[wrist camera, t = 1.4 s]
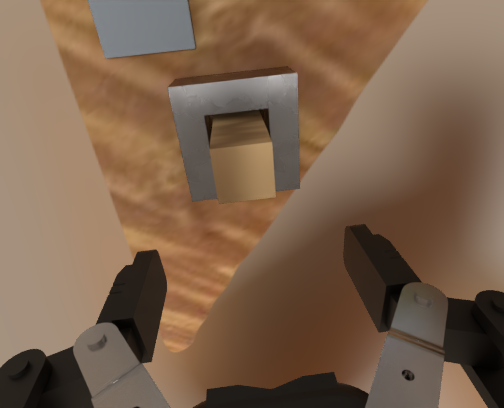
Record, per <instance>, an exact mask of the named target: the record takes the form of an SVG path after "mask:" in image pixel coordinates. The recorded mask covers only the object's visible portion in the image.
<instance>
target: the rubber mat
mask: <svg viewBox="0 0 504 408" xmlns="http://www.w3.org/2000/svg"><path fill="white" fill-rule="evenodd" d="M88 3H89V6H90V9H91V13H92V16H93V19H94V22H95V26H96V29H97V32H98V36H99V39H100V42H101V46H102V49H103V52H104V56H105V59H106V58H114V57H123V56H132V55H141V54H150V53H159V52H168V51H177V50H186V49H195V48H196V45H195V39H194V33H193V27H192V21H191V15H190V9H189V3H188V0H88Z"/></svg>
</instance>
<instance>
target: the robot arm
mask: <svg viewBox="0 0 504 408" xmlns="http://www.w3.org/2000/svg"><path fill="white" fill-rule="evenodd" d="M343 257H344V264H345V267H346V270H347V272H348V274H349V276H350V277H351V279H352V281H353V283H354V285H355V287H356V289H357V291H358V293H359V295H360V297H361V299H362V301H363V302H364V305H365V307H366V309H367V311H368V313H369V315H370V316H371V318H372V320H373V322H374V324H375V326H376V328H377V330H378V332H386V331H388V334H387V337H386V340H385V344H384V347H383V350H382V353H381V357H380V360H379V363H378V367H377V370H376V373H375V377H374V380H373V383H372V386H371V390H370V393H369V394H368V393H366V392H364V391H362V390H360V389H359V388H356V387H354V386H351V385H347V384H343V383H338V382H337V380H336V377H335V374H334V372H330V373H323V374H316V375H308V376H302V377H300V378H298V379H295V380H293V381H291V382H288V383H286V384H283V385H281V386H279V387H276V388H274V389H264V388H257V387H250V386H242V385H235V386H227V387H220V388H214V389H207V398H206V401H204V402H201V403H200V404H198V405H196V406H195V407H193V408H438V405H439V397H440V389H441V380H442V372H443V363H444V361H446V362H452V363H458V364H460V365H461V366H462V367H463V369H464V371H465V372H466V374H467V375H468V377H469V379H470V380H471V382H472V383H473V385H474V386H475V388H476V390H477V391H478V393H479V394H480V396H481V397H482V399H483V401H484V402H485V404H486V405H487V407H488V408H504V293H503V292H499V291H494V290H486V291H482V292H480V293H478V294H477V295H476V298H475V301H470V300H462V299H454V298H448V297H446V296H445V294H444V293H442V291H440V290H439V289H437V288H436V287H434V286H432V285H429V284H426V283H422V282H421V281H420V279H419V278H418V277H417V275H416V274H415V273H414V272H413V270H412V269H411V268H410V266H409V265H408V264H407V263H406V261H405V260H404V259H403V258H402V257H401V255H400V254H399V252H398V251H396V249H395V247H394V246H393V245H392V244H391V242H390V241H389V240H387V239H386V238H384V237H382V236H381V235H379V234H376V235H373V234H372V233H371V232H370V230H369V229H368V228H367V226H366V225H365V224H361V225H353V226H346V228H345V238H344V252H343ZM166 292H167V280H166V276H165V272H164V269H163V266H162V263H161V259H160V256H159V253H158V251H157V250H149V251H141V252H137V254H136V257H135V259H134V262H133V264H132V265H126V266H125V267H124V268H123V269H122V270H121V271H120V272H119V273H118V275H117V276H116V279H115V281H114V283H113V287H112V288H111V290H110V294H109V295H108V297H107V300H106V302H105V304H104V306H103V309H102V311H101V313H100V316H99V318H98V320H97V323H96V325H95V326H92V327H90V328H89V329H87V330H86V331H84V332H83V333H82V334H81V335H80V336H79V337H78V339H77V340H76V342H75V344H74V346H72V347H70V348H68V349H65V350H63V351H60V352H58V353H55V354H53V355H50V356H47V357H46V355H45V354H44V352H43V351H41V350H39V349H30V350H27V351H24V352H21V353H19V354H17V355H15V356H14V357H12V358H11V359H9V360H8V361H7V362H6V363H5V364H4V365H3V366H2V367H1V368H0V408H171V407H170V406H169V404H168V403H167V401H166V400H165V398H164V397H163V395H162V393H161V392H160V390H159V389H158V387H157V385H156V384H155V382H154V381H153V379H152V378H151V376H150V375H149V373H148V371H147V370H146V368H145V367H144V365H143V364H142V363H147V362H151V361H152V357H153V353H154V348H155V343H156V339H157V334H158V329H159V325H160V320H161V315H162V311H163V306H164V301H165V297H166Z"/></svg>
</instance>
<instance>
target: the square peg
mask: <svg viewBox="0 0 504 408" xmlns="http://www.w3.org/2000/svg"><path fill="white" fill-rule="evenodd" d="M209 151H210V157H211V163H212V168H213V174H214V180H215V186H216V191H217V197H218V203H219V204H224V203H232V202H241V201H249V200H257V199H265V198H274V197H276V192H275V177H274V161H273V146H272V140H271V138H270V135H269V133H268V131H267V128H266V126H265V123H264V121H263V118H262V116H261V114H260V111H259V109H258V110H249V111H240V112H232V113H223V114H214V116H213V124H212V132H211V140H210V147H209Z"/></svg>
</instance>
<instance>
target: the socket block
mask: <svg viewBox="0 0 504 408" xmlns="http://www.w3.org/2000/svg"><path fill="white" fill-rule="evenodd" d="M167 89H168V93H169V98H170V103H171V107H172V112H173V116H174V121H175V125H176V130H177V134H178V139H179V143H180V148H181V152H182V157H183V161H184V166H185V170H186V175H187V180H188V184H189V189H190V193H191V198H192V202H193V201H201V200H209V199H217V198H218V197H217V191H216V186H215V180H214V174H213V168H212V163H211V157H210V151H209V147H210V140H211V126H210V120H209V115H214V114H223V113H232V112H240V111H249V110H258V109H264V122H265V126H266V128H267V131H268V133H269V135H270V138H271V140H272V146H273V161H274V177H275V191H284V190H292V189H299V188H300V171H299V124H298V76H297V72H295V71H294V70H292V69H291V68H289V67H287V66H286V67H278V68H269V69H260V70H251V71H242V72H234V73H225V74H216V75H207V76H198V77H190V78H181V79H175V80H174V81H173V82H172V83H171V84H170V85H169V86H168V87H167Z"/></svg>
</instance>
